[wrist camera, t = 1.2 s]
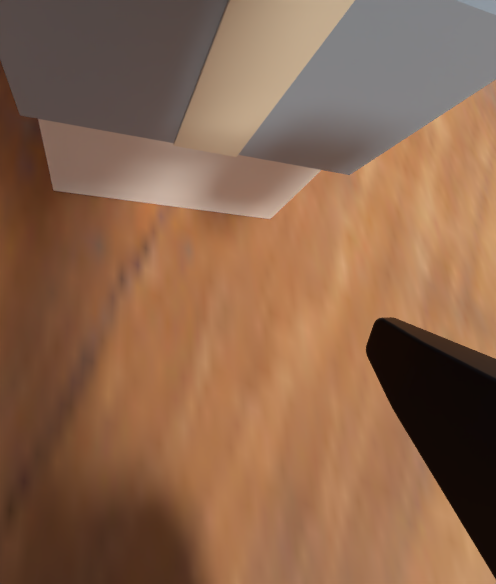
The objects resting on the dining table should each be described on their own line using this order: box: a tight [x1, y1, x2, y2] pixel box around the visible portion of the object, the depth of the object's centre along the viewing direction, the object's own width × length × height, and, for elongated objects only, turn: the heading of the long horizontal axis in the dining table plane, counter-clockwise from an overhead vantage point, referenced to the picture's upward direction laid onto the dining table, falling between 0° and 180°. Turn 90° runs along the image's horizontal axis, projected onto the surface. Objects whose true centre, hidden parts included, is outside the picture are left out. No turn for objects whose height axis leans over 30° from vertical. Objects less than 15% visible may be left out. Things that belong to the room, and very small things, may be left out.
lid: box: [0, 0, 496, 175], centre depth 12 cm, size 9×12×1 cm
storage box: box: [38, 119, 321, 219], centre depth 21 cm, size 8×12×8 cm, turn 92°
